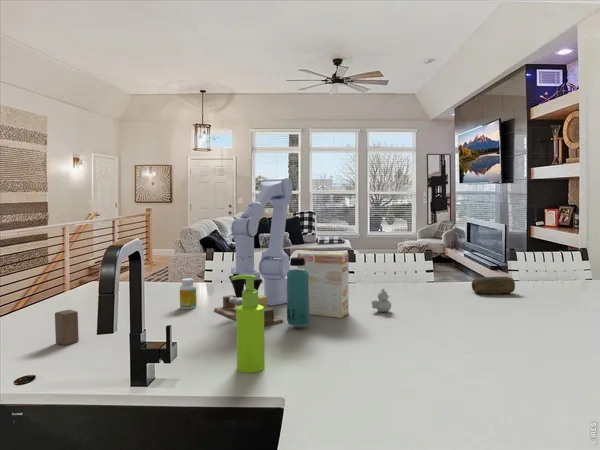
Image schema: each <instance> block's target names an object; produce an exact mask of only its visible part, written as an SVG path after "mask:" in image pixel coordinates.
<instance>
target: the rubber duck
mask: <svg viewBox="0 0 600 450" xmlns="http://www.w3.org/2000/svg"><path fill="white" fill-rule="evenodd" d="M389 297H390V296H389V294H388V293H387V291H386V290H385V287H383V289H380V291H379V292H378V293H377V299H372V300H371V305H372V306H371V308H372V309H374V310H375V309H376V310H377V311H378V312H381V313H386V312H389V311H390V310H391V308H392V303H391V302H390V301H389Z"/></svg>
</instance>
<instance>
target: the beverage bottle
mask: <svg viewBox="0 0 600 450" xmlns="http://www.w3.org/2000/svg"><path fill="white" fill-rule="evenodd" d="M289 265H290V266H293V267H298V266H304V265H305V260H304V258H301V257H298V256H296V257H291V258H290V260H289ZM286 288H287V293H286V294H287V303H286V321H287V324H288V325H290V326H297V327H298V326H306V325H308V324H309V323H310V314H309V313H310V312H309V273H308V272H307V271H306V270H305V269H298V268H292V269H291V268H290V270H289V271H288V273H287V287H286Z"/></svg>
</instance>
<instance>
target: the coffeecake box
mask: <svg viewBox="0 0 600 450" xmlns="http://www.w3.org/2000/svg"><path fill="white" fill-rule="evenodd" d="M297 257H301V258H304V260H305V265H304V266H297V269H305V270H306V271H307V272H308V273H309V312H310V313H309V315H310V316H322V317H329V318H338V319H343V317H345V316H346V315H348V314H349V313H350V312H349V309H350V308H349V306H350V305H349V300H350V299H349V297H350V296H349V294H350V293H349V291H350V290H349V289H350V288H349V281H350V280H349V275H350V274H349V273H350V272H349V271H350V270H349V252H338V251H337V252H335V251H334V252H333V251H311V250H310V251H309V250H306V251H305V250H304V251H300V252H297Z"/></svg>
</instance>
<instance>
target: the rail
mask: <svg viewBox="0 0 600 450" xmlns="http://www.w3.org/2000/svg"><path fill="white" fill-rule="evenodd" d="M241 305H242V299H240V298H236V295H235V294H230V295H224V296H222V306H219V307H215V308H213V309H214V310H213V311H214V312H216V313H219V314H221V315H223V316H226V317H227V318H230V319H232V320H234V321H236V308H237V307H238V306H241ZM274 313H275V309H273V308H271V307H267V309H264V327H266V326H270V325H272V326H273V325H274V324H275V325H276V324H279V323H284V319H283V318H280V317H277V316H275V314H274Z"/></svg>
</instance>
